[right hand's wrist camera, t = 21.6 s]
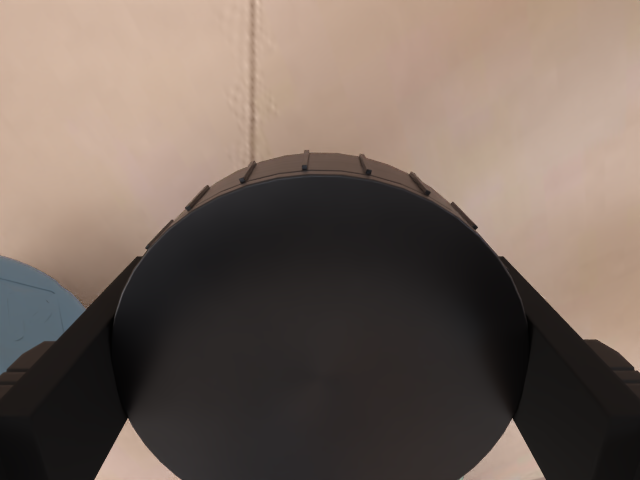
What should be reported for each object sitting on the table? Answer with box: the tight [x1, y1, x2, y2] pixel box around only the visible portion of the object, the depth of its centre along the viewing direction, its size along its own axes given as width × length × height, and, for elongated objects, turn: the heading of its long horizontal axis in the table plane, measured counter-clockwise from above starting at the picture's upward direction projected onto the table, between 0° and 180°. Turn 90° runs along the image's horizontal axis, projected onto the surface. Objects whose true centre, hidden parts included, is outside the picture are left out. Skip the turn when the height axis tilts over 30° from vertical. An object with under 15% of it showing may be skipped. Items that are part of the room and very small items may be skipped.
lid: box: [111, 150, 530, 480], centre depth 11 cm, size 10×10×2 cm
